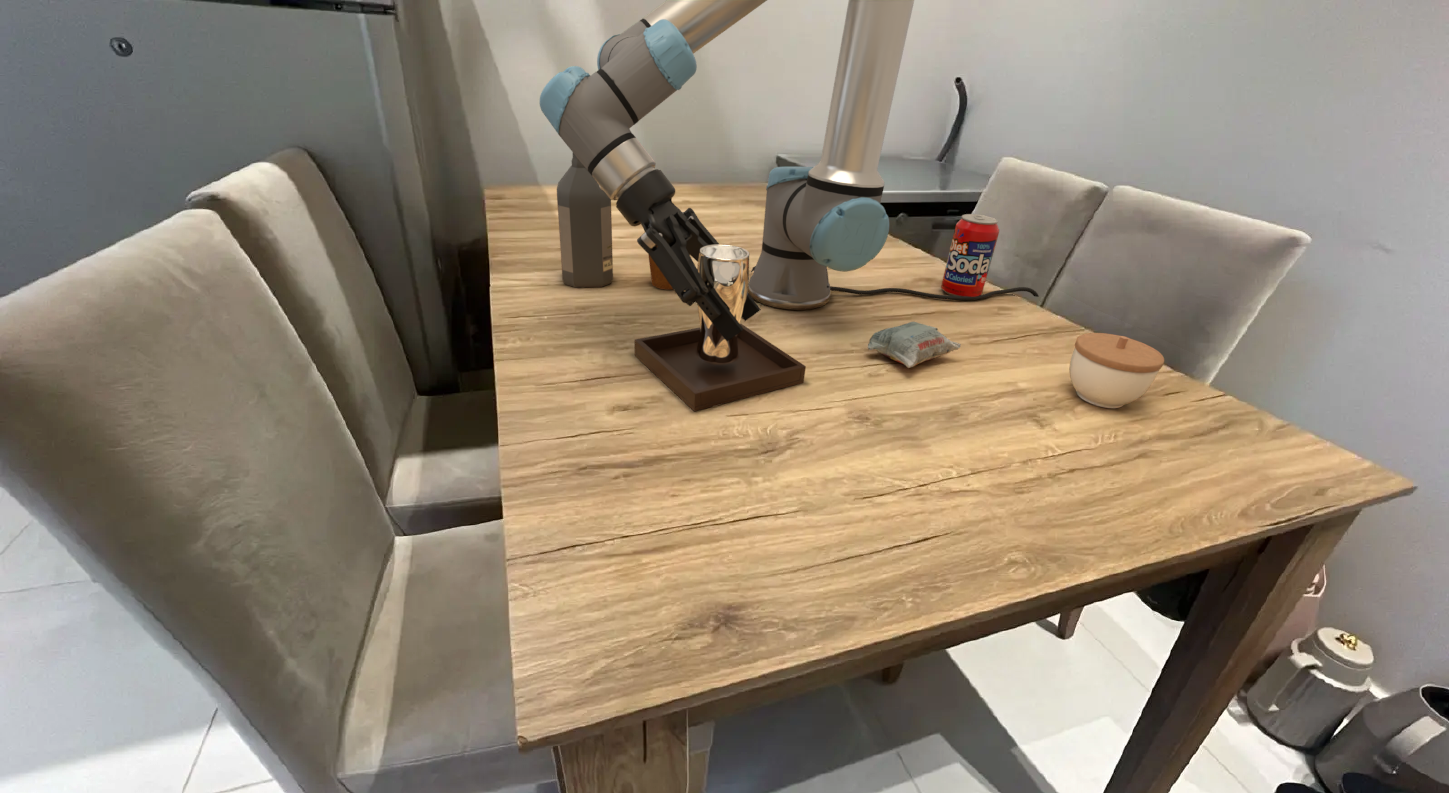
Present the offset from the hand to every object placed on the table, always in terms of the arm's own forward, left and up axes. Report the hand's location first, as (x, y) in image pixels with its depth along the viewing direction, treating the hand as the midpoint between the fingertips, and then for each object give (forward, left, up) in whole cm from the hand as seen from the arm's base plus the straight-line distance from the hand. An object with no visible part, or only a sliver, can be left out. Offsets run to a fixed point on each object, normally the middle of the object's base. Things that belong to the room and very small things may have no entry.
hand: (744, 324), depth 85 cm
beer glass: (+2, -3, -6) cm, 7 cm away
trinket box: (-43, +28, -8) cm, 52 cm away
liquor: (+5, -45, -8) cm, 46 cm away
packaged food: (-27, +7, -8) cm, 29 cm away
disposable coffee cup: (-8, -37, -8) cm, 38 cm away
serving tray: (+2, -3, -8) cm, 8 cm away
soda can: (-59, -10, -8) cm, 60 cm away
